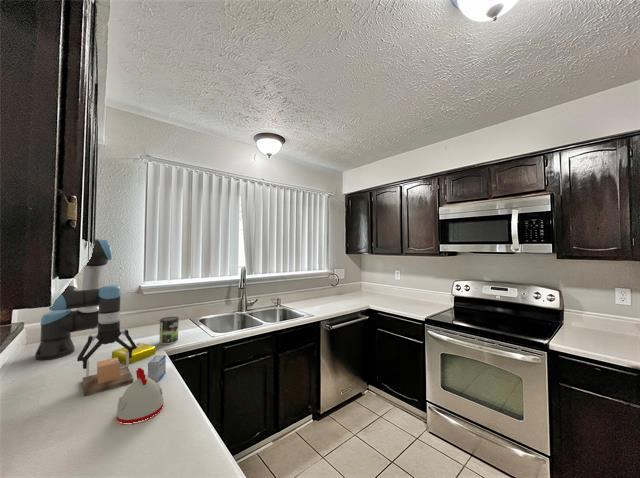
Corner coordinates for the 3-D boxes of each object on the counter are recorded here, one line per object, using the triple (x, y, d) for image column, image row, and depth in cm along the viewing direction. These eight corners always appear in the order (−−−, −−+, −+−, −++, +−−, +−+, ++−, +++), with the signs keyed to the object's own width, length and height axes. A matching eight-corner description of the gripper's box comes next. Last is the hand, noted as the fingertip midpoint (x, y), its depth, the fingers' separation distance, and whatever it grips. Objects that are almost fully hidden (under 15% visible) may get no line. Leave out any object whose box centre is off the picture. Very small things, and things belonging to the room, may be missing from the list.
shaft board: (84, 396, 105) (84, 379, 105) (82, 381, 117) (83, 366, 117) (133, 382, 116) (133, 367, 116) (127, 369, 128) (127, 355, 128)
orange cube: (98, 384, 111) (98, 366, 112) (97, 377, 117) (97, 361, 117) (119, 378, 116) (119, 361, 116) (117, 372, 121) (117, 356, 122)
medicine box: (158, 381, 117) (158, 361, 117) (147, 382, 116) (147, 362, 116) (165, 373, 124) (166, 354, 125) (155, 374, 124) (155, 355, 124)
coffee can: (182, 339, 168) (182, 317, 168) (168, 345, 158) (168, 321, 159) (169, 337, 171) (170, 315, 172) (155, 343, 162) (155, 319, 162)
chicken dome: (155, 396, 105) (155, 358, 106) (169, 410, 97) (170, 368, 97) (111, 413, 95) (112, 370, 95) (123, 430, 86) (124, 383, 86)
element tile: (109, 360, 139) (110, 350, 139) (139, 349, 153) (139, 341, 153) (127, 365, 133) (128, 355, 133) (156, 354, 147) (157, 345, 147)
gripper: (70, 329, 106) (68, 383, 105) (144, 318, 123) (143, 364, 122) (70, 325, 111) (69, 377, 111) (141, 314, 128) (140, 359, 128)
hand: (108, 370), depth 116 cm, fingers open, 13 cm apart
